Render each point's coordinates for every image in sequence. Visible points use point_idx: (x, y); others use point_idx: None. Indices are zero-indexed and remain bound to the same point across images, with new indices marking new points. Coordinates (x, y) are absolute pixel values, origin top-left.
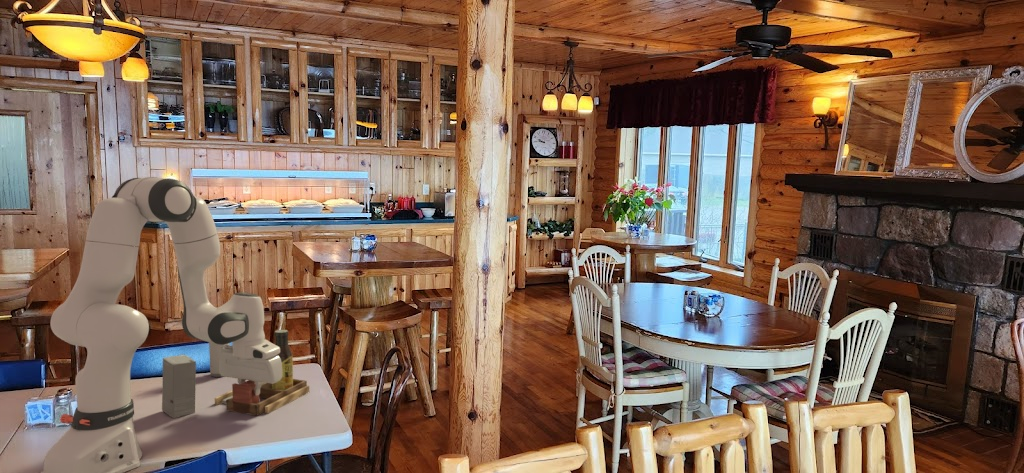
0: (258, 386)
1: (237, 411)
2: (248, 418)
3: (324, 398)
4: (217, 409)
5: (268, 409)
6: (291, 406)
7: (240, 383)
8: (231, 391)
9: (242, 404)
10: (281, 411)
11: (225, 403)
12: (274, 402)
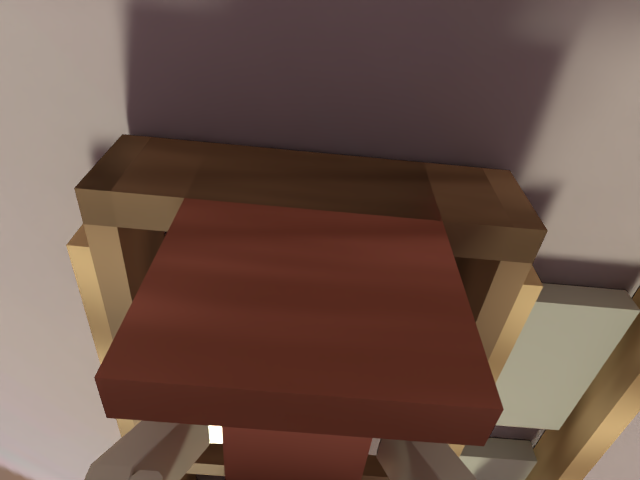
0: (126, 446)
1: (372, 161)
2: (168, 64)
3: (7, 458)
4: (619, 178)
5: (82, 236)
6: (66, 349)
7: (434, 469)
8: (614, 421)
9: (297, 197)
10: (43, 269)
11: (593, 289)
12: (108, 333)
